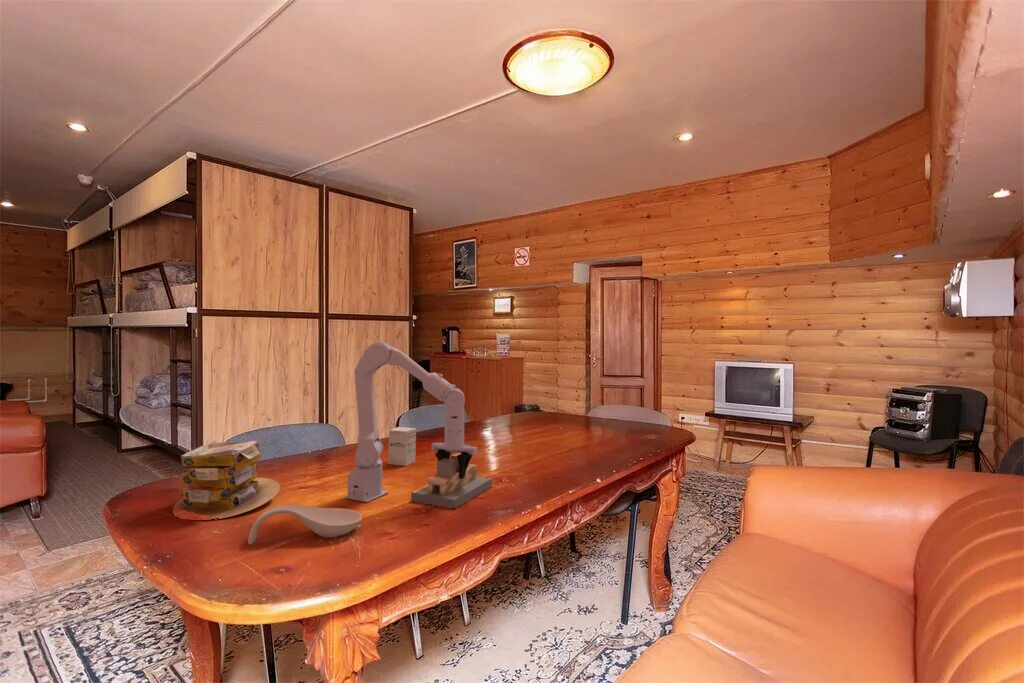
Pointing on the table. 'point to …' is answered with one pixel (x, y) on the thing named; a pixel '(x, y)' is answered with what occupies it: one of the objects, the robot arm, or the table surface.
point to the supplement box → (402, 446)
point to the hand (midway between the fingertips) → (453, 476)
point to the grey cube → (446, 467)
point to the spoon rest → (314, 519)
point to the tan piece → (451, 481)
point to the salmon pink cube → (457, 460)
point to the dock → (452, 493)
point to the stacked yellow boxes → (224, 480)
